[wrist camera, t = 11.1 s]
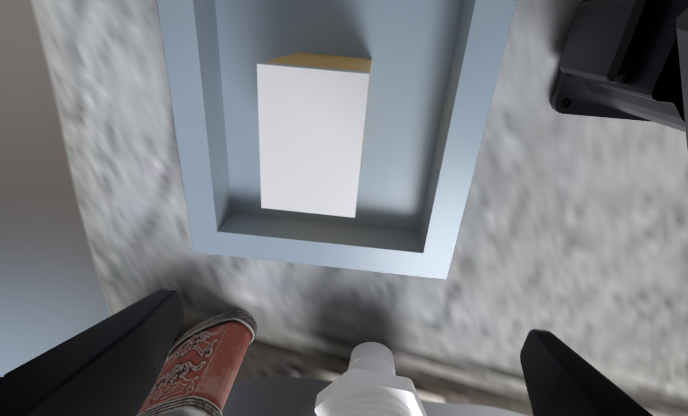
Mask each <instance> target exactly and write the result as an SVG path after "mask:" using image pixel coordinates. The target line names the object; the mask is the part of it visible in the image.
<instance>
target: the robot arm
mask: <svg viewBox="0 0 688 416" xmlns="http://www.w3.org/2000/svg"><path fill="white" fill-rule="evenodd" d="M559 68H560V70H561V73H560V77H559V80H558V83H557V86H556V89H555V92H554V95H553V98H552V102H551V106H552V108H553V109H554V110H555V111H557V112H559V113H563V114H574V115H585V116H597V117H608V118H619V119H631V120H642V121H653V122H657V123H660V124H663V125H666V126H669V127H672V128H675V129H678V130H681V131H684V132H686V137H687V148H688V0H584V3H582V4H581V5H580V6H579V7H578V8H577V10H576V14H575V17H574V20H573V23H572V26H571V29H570V32H569V35H568V38H567V42H566V45H565V48H564V51H563V54H562V57H561V60H560V63H559ZM564 98H567V99H568V102H567V104H566V105H564V106H562V107H561V106H560V102H561V101H562V99H564ZM183 315H184V314H183V307H182V302H181V296H180V292H179V291H178V290H176V289H167V288H162V289H160V290H158V291H156V292H154V293H152V294H150V295H149V296H147V297H145V298H143V299H141V300H140V301H138V302H136V303H134V304H132V305H130V306H129V307H127V308H125V309H123V310H121V311H119V312H118V313H116V314H114V315H112V316H110V317H109V318H107V319H105V320H103V321H101V322H99V323H98V324H96V325H94V326H92V327H90V328H89V329H87V330H85V331H83V332H81V333H79V334H78V335H76V336H74V337H72V338H70V339H69V340H67V341H65V342H63V343H61V344H59V345H58V346H56V347H54V348H52V349H50V350H48V351H47V352H45V353H43V354H41V355H39V356H37V357H36V358H34V359H32V360H30V361H29V362H27V363H25V364H23V365H21V366H20V367H17V368H16V369H14V370H12V371H10V372H8V373H6V374H5V375H4V377H0V416H137V414H138V413H139V411H140V409H141V407H142V406H143V404H144V402H145V400H146V398H147V397H148V395H149V393H150V391H151V390H152V388H153V386H154V384H155V382H156V380H157V378H158V376H159V374H160V372H161V370H162V368H163V365H164V363H165V361H166V358H167V356H168V354H169V352H170V349H171V347H172V345H173V342H174V340H175V338H176V335H177V333H178V331H179V329H180V326H181V324H182V321H183ZM520 361H521V365H522V370H523V374H524V378H525V382H526V387H527V391H528V395H529V399H530V404H531V408H532V412H533V416H653V415H652V414H650V413H649V412H648V411H647V410H646V409H644V408H643V407H642V406H641V405H639V404H638V403H637V402H636V401H634V400H633V399H632V398H631V397H630V396H628V395H627V394H626V393H625V392H623V391H622V390H621V389H620V388H619V387H617V386H616V385H615V384H614V383H612V382H611V381H610V380H609V379H608V378H606V377H605V376H604V375H603V374H601V373H600V372H599V371H598V370H597V369H595V368H594V367H593V366H592V365H590V364H589V363H588V362H587V361H585V360H584V359H583V358H582V357H581V356H579V355H578V354H577V353H576V352H574V351H573V350H572V349H571V348H570V347H568V346H567V345H566V344H565V343H563V342H562V341H561V340H560V339H559V338H557V337H556V336H555V335H554V334H552V333H551V332H549V331H546V330H537V329H533V330H531V331H530V332H529V333H528V336H527V338H526V340H525V343H524V345H523V348H522V350H521V354H520Z"/></svg>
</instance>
